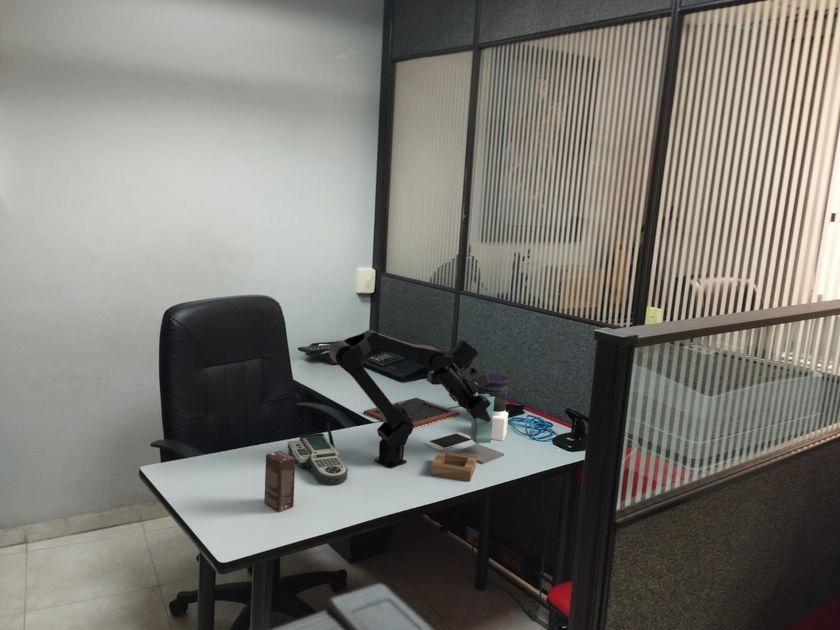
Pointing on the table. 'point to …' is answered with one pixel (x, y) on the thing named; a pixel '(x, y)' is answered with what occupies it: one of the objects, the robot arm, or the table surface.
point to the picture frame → (419, 411)
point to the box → (279, 481)
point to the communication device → (319, 457)
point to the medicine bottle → (499, 419)
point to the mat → (480, 453)
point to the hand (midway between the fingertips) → (486, 418)
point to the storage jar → (495, 386)
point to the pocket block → (453, 466)
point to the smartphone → (449, 441)
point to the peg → (482, 425)
